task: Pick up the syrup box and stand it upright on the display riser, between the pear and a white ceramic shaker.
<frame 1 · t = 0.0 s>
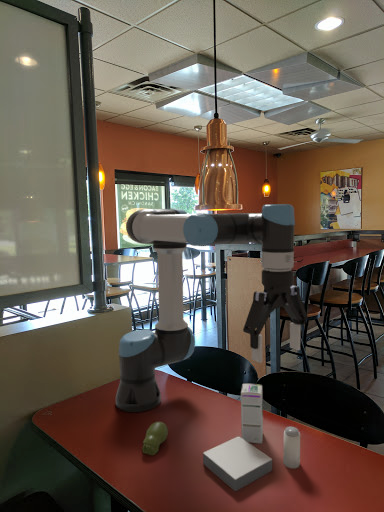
hand: (276, 354, 93), 28 cm above the table, fingers open, 13 cm apart
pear: (154, 446, 103), on the table
riser: (237, 467, 94), on the table
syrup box: (252, 437, 106), on the table
shaker: (291, 463, 95), on the table
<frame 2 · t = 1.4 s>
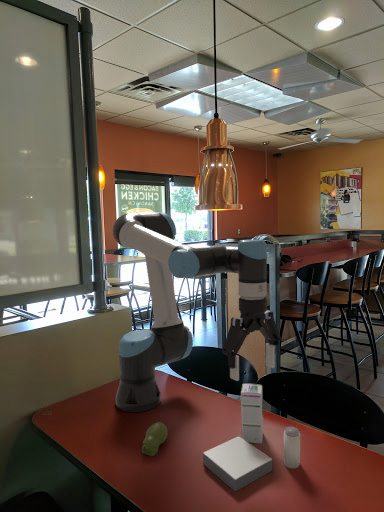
hand: (253, 372, 104), 19 cm above the table, fingers open, 13 cm apart
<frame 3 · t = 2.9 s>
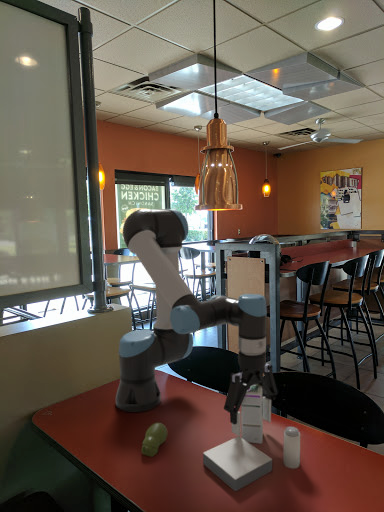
hand: (251, 426, 106), 3 cm above the table, fingers open, 11 cm apart
nothing on the table moved.
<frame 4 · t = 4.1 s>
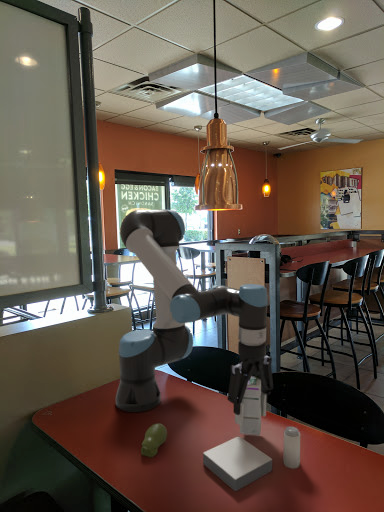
hand: (250, 419, 106), 5 cm above the table, fingers closed on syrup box, 8 cm apart
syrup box: (250, 429, 107), point 2 cm above the table, touching gripper
everything else where it was.
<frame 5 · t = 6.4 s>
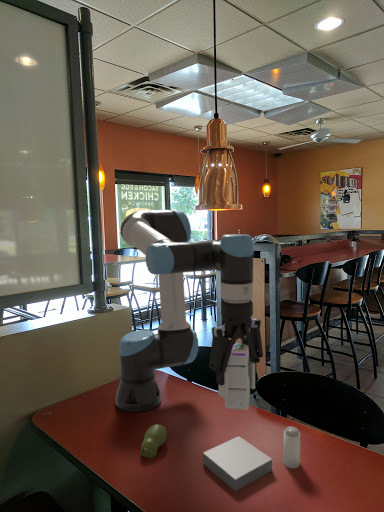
hand: (237, 391, 92), 20 cm above the table, fingers closed on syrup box, 8 cm apart
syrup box: (237, 404, 92), point 16 cm above the table, touching gripper
when the fingers open (7 cm above the table, at t = 9.0 s): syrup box stays where it is, resting on riser.
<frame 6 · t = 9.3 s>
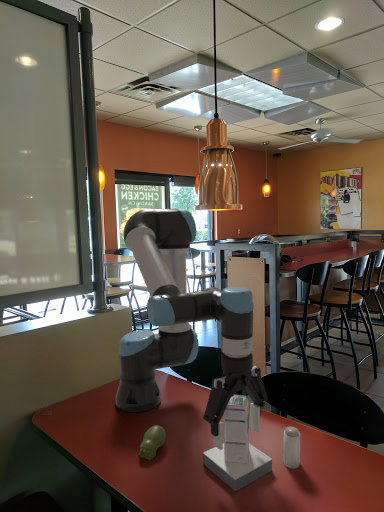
hand: (237, 437, 93), 8 cm above the table, fingers open, 11 cm apart
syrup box: (236, 456, 94), point 3 cm above the table, touching riser
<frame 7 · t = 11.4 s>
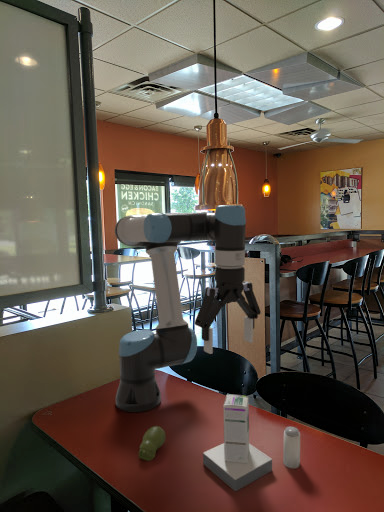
hand: (228, 346, 99), 28 cm above the table, fingers open, 13 cm apart
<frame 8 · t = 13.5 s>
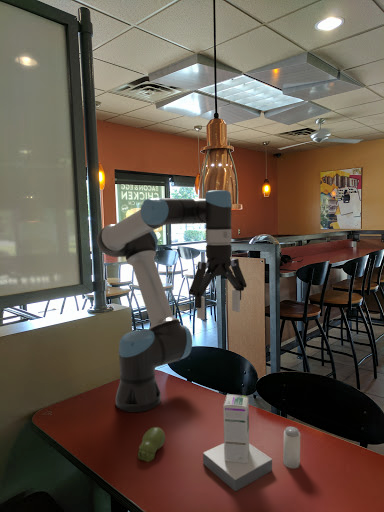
hand: (219, 314, 113), 33 cm above the table, fingers open, 13 cm apart
at the end: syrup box inside the target area on the riser (0.1 cm from its centre), point 2.8 cm above the riser's base; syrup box tilted 0°; the gripper is holding nothing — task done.
